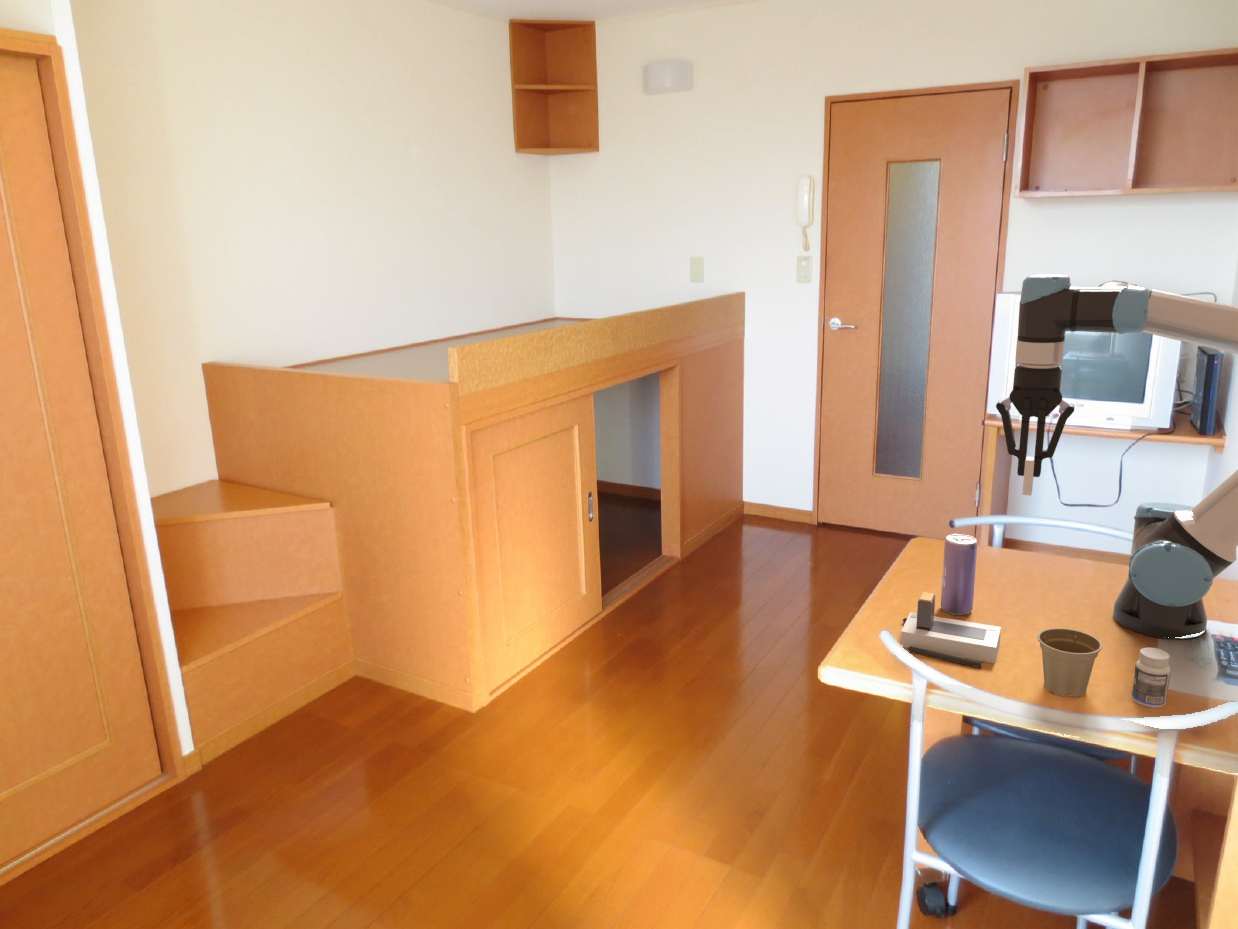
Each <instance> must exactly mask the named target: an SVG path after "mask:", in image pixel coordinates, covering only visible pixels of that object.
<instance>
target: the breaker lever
mask: <svg viewBox="0 0 1238 929" xmlns="http://www.w3.org/2000/svg"><path fill="white" fill-rule="evenodd" d="M935 606H936V594H935V593H933V592H925V591H922V592H921V593H920V595H919V597H918V600H917V609H916V610H917V611H916V612H917V626H919V627H925V628H931V625H932V623H933V620H934V616H935Z"/></svg>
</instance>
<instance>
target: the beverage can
mask: <svg viewBox="0 0 1238 929" xmlns="http://www.w3.org/2000/svg"><path fill="white" fill-rule="evenodd" d="M977 541H978V540H977V539H976V538H975V537H974V536H972V535H967V534H961V533H960V534H959V533H953V534H949V535H947V536H946V537H945V541H944V548H943V565H942V578H941V579H942V580H941V590H940V591H941V592H940V594H941V595H940V608H941V609H942V611H944V612H945V613H947V614H949V615H952V616H953V615H954V616H966V615H969V614H970V613H971V612H972V610H973V608H974V605H973V604H974V597H975V595H974V594H975V580H976V568H977V555H978V554H977V553H978V543H977Z"/></svg>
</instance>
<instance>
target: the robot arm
mask: <svg viewBox="0 0 1238 929" xmlns="http://www.w3.org/2000/svg"><path fill="white" fill-rule="evenodd" d="M1020 293H1021V294H1020V301H1019V306H1018V307H1019V310H1018V324H1017V337H1016V339H1017V340H1016V346H1015V347H1016V348H1015V350H1016V351H1015V363H1017V365H1015V367H1014V373H1013V374H1014V375H1013V387H1012V390H1011V391H1010V394H1009V396H1008V397H1007V398H1004V399H1002V400H998V401H997V403H996V404H995V408H996V410H997V411H998V413H999V414H1000V416H1001V422H1002V428H1003V431H1004V437H1005V444H1006V448H1007V453H1008V454H1009V455H1010V456H1014V457H1016V458H1017V459H1018V460H1017V461H1018V462H1017V472H1016V473H1017V476H1020V477H1023V480H1022V481H1023V482H1022V492H1021V493H1022V494H1021V495H1024V496H1030V497H1031V496H1032V494H1033V485H1034V478H1040V476H1041V473H1042V463H1043V460H1044V459H1047V458H1048V459H1050V458H1053V457H1054V455H1055V452H1056V450H1057V447H1058V444H1059V441H1060V439H1061V436H1062V434H1063V430H1064V428H1065V426H1066V422H1067V420H1068V419H1069V418H1070V417H1071V415H1072V414H1073V413H1074V412H1075V405H1074V404H1073V403H1069V402H1067V401H1066V400H1064V399H1063V395H1062V392H1061V384H1062V383H1061V382H1062V372H1063V369H1062V367H1061V366H1060V365H1062V363H1063V360H1064V350H1065V342H1066V341H1065V340H1066V336H1065V335H1066V332H1071V333H1073V332H1089V333H1090V332H1091V333H1114V334H1115V333H1116V334H1119V335H1123V334H1128V333H1129V334H1130V333H1132V334H1135V333H1139V334H1140V333H1145V334H1150V335H1154V336H1158V337H1163V338H1167V339H1171V340H1175V341H1181V342H1185V343H1187V344H1188V343H1189V344H1193V345H1195V346H1196V345H1197V346H1201V347H1206V348H1209V349H1214V350H1218V351H1223V352H1227V353H1231V354H1235V355H1238V306H1236V305H1235V306H1234V305H1230V304H1226V303H1219V302H1216V301H1211V300H1206V299H1201V298H1196V297H1191V296H1187V295H1183V294H1177V293H1172V292H1168V291H1163V290H1159V289H1154V288H1153V289H1150V288H1147V287H1144V286H1143V287H1142V286H1137V285H1134V284H1131V283H1129V282H1126V281H1122V280H1111V281H1110V280H1109V281H1106V282H1103V283H1101V284H1100V285H1098V286H1093V287H1092V286H1090V287H1089V286H1087V287H1084V286H1082V287H1081V286H1074V285H1073V286H1072V283H1071V278H1070V276H1069V275H1066V274H1034V275H1029V276H1026V278H1024V280H1023V282H1022V286H1021V292H1020ZM1011 404H1012V405H1013V406H1014V408H1015V409H1016V411H1017V412H1018V413H1019V415H1021V423H1020V424H1021V425H1020V435H1019V445H1018V447H1019V448H1018V447H1017V445H1016V440H1015V435H1014V434H1015V432H1014V428H1013V424H1012V418H1011V412H1010V410H1011V409H1012V405H1011ZM1058 406H1059V409H1058V413H1059V416H1058V419H1057V422H1056V424H1055V427H1054V430H1053V432H1052V435H1051V438H1050V440H1049V443H1048V444H1047V445H1048V446H1047V449H1044V442H1045V439H1044V438H1045V429H1046V419H1047V417H1048V416H1049V415H1050V414H1051V413H1053V411H1054V410H1055V409H1056V408H1057V407H1058ZM1032 417H1035V418H1037V421H1036V424H1037V425H1036V432H1035V433H1036V435H1035V446H1034V447H1035V448H1034V456H1027V454H1028V444H1029V431H1030V422H1031V418H1032ZM1133 519H1134V525H1133V532H1132V533H1133V535H1132V540H1131V541H1132V542H1131V551H1130V558H1129V559H1130V560H1129V562H1128V576H1127V579H1126V581H1125V583H1124V585H1123V587H1122V588H1121V590H1120V593H1118V596H1117V598H1116V600H1115V601H1114V605H1113V610H1112V611H1113V612H1112V616H1113V619H1114V620H1115V621H1116V622H1117V623H1118V624H1120V625H1121V626H1123V627H1125V628H1127V629H1129V630H1131V631H1133V632H1137V633H1140V634H1143V635H1146V636H1151V637H1154V638H1161V639H1168V637H1169V638H1175V637H1182V636H1186V635H1191V634H1196V633H1200V632H1202V631H1204V630H1205V629H1206V630H1207V624H1208V618H1207V617H1208V616H1207V612H1206V609H1205V608H1206V607H1205V604H1204V600H1203V598H1204V597H1205V596H1206V595H1207V594H1208V592H1209V591H1210V589H1211V587H1212V586H1213V581H1214V579H1215V578H1216V577H1218V575H1220V574H1221V573H1222V572H1223V571H1225V570H1226V569H1227V568H1228V567H1229V566H1231V565H1233V563H1235V562H1236V560H1237V547H1238V469H1237V470H1235V471H1234V472H1233V473H1232V474H1231V475H1230V476H1228V478H1226V479H1225V480H1224V481H1223V482H1222V483H1221V484H1219V485H1218V486H1217V487H1216V488H1215V489H1213V491H1211V492H1210V493H1209V494H1208V495H1206V497H1204V498H1203V499H1202V500H1201V501H1200V502H1199V503H1197V504H1196V505H1195V506H1190V505H1184V504H1179V503H1177V504H1176V503H1168V502H1144V503H1141V504H1139V505H1138V506H1137V507H1136V512H1135V515H1134V516H1133ZM1164 637H1165V638H1164Z"/></svg>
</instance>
